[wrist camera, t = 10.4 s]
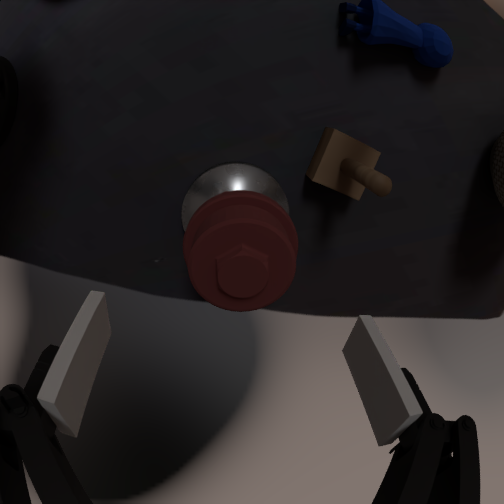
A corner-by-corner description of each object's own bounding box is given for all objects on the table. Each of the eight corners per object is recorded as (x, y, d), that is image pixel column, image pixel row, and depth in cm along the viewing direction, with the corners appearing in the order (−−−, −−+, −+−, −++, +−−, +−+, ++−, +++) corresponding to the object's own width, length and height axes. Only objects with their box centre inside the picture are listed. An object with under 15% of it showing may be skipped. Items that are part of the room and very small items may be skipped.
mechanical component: (299, 200, 32) (254, 269, 36) (219, 156, 29) (178, 234, 33) (335, 252, 21) (265, 342, 25) (212, 186, 18) (156, 299, 22)
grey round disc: (165, 226, 34) (162, 231, 32) (220, 140, 30) (220, 142, 28) (247, 274, 38) (248, 280, 36) (307, 200, 33) (310, 204, 32)
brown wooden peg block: (305, 174, 32) (338, 205, 22) (325, 126, 30) (368, 137, 20) (349, 192, 33) (392, 229, 24) (369, 148, 31) (421, 169, 21)
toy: (336, 45, 26) (440, 76, 26) (356, 34, 20) (470, 76, 21) (337, -2, 22) (440, 33, 23) (355, -20, 17) (468, 27, 18)
